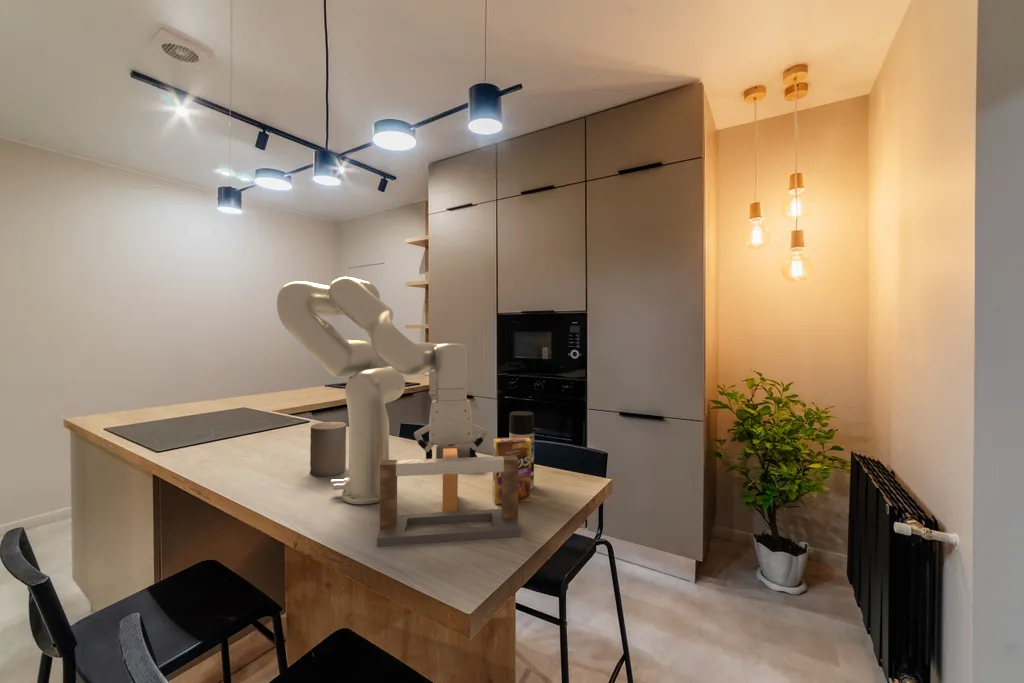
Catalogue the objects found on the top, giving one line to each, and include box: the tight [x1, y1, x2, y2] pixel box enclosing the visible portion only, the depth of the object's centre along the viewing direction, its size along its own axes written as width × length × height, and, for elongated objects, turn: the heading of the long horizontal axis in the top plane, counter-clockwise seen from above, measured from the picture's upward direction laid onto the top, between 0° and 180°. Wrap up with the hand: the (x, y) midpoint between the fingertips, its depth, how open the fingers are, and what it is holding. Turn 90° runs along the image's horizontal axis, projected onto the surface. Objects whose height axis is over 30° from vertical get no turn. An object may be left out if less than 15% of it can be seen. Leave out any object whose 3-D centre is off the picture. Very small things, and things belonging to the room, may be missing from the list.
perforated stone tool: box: [435, 444, 478, 459], centre depth 124 cm, size 15×5×7 cm, turn 59°
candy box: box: [491, 437, 531, 505], centre depth 100 cm, size 9×4×15 cm, turn 103°
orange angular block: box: [441, 448, 459, 512], centre depth 97 cm, size 10×3×12 cm, turn 9°
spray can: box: [508, 410, 535, 491], centre depth 108 cm, size 7×7×20 cm
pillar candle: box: [309, 420, 347, 478], centre depth 119 cm, size 10×10×15 cm
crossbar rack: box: [376, 455, 522, 547], centre depth 85 cm, size 28×10×14 cm, turn 99°
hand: (450, 466), depth 97 cm, fingers open, 9 cm apart
